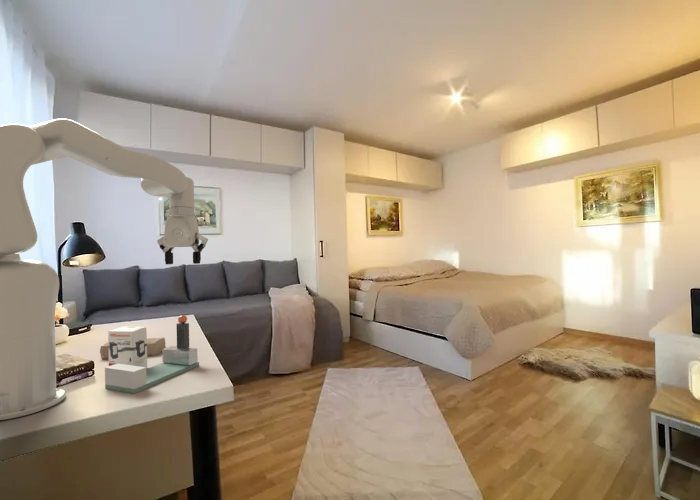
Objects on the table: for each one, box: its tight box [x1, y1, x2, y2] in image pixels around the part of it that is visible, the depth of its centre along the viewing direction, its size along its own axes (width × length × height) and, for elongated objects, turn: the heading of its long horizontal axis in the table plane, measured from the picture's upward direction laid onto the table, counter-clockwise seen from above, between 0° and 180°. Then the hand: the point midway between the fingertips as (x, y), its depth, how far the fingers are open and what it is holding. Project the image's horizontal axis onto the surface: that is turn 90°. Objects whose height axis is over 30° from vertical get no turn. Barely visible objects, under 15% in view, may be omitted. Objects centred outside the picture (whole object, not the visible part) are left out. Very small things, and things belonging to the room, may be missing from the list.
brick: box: [99, 337, 167, 360], centre depth 105 cm, size 17×8×5 cm, turn 100°
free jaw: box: [161, 314, 199, 365], centre depth 92 cm, size 4×10×13 cm, turn 70°
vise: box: [104, 361, 200, 394], centre depth 84 cm, size 19×10×5 cm, turn 160°
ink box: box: [107, 325, 148, 369], centre depth 89 cm, size 8×5×12 cm, turn 78°
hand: (182, 263), depth 107 cm, fingers open, 9 cm apart
